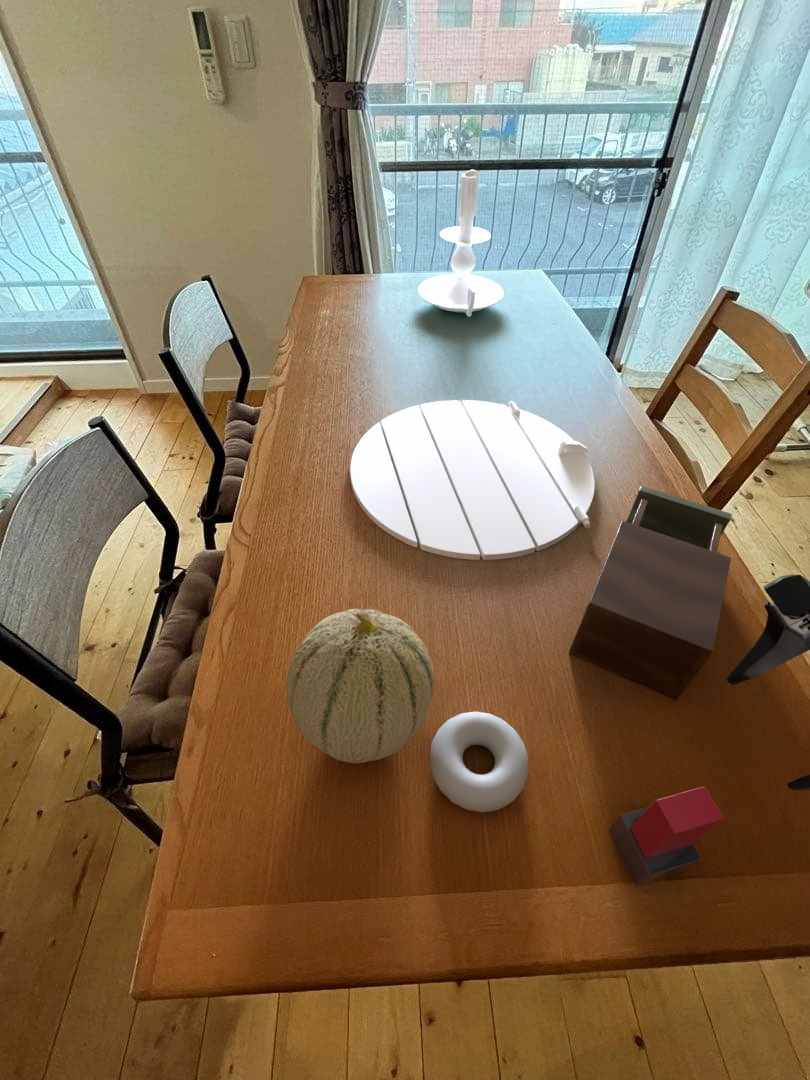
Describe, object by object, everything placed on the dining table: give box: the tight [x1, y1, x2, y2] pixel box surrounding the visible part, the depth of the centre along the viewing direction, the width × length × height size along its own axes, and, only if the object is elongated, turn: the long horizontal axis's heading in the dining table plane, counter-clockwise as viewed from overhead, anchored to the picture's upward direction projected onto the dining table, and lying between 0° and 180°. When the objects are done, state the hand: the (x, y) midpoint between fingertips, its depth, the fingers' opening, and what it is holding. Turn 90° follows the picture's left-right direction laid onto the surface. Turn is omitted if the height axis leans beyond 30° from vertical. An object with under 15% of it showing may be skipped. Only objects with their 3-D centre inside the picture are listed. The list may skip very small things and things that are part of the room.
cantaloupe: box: [285, 608, 435, 764], centre depth 55 cm, size 15×15×15 cm
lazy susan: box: [349, 399, 596, 561], centre depth 89 cm, size 40×39×3 cm
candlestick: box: [417, 169, 505, 317], centre depth 124 cm, size 21×25×28 cm
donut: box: [429, 711, 529, 814], centre depth 56 cm, size 10×4×10 cm
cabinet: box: [568, 520, 732, 701], centre depth 65 cm, size 15×13×10 cm
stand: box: [608, 805, 702, 887], centre depth 50 cm, size 5×5×4 cm
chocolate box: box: [631, 786, 725, 859], centre depth 46 cm, size 4×3×7 cm, turn 104°
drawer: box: [625, 484, 733, 553], centre depth 73 cm, size 18×11×8 cm, turn 151°
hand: (757, 731), depth 46 cm, fingers open, 9 cm apart
